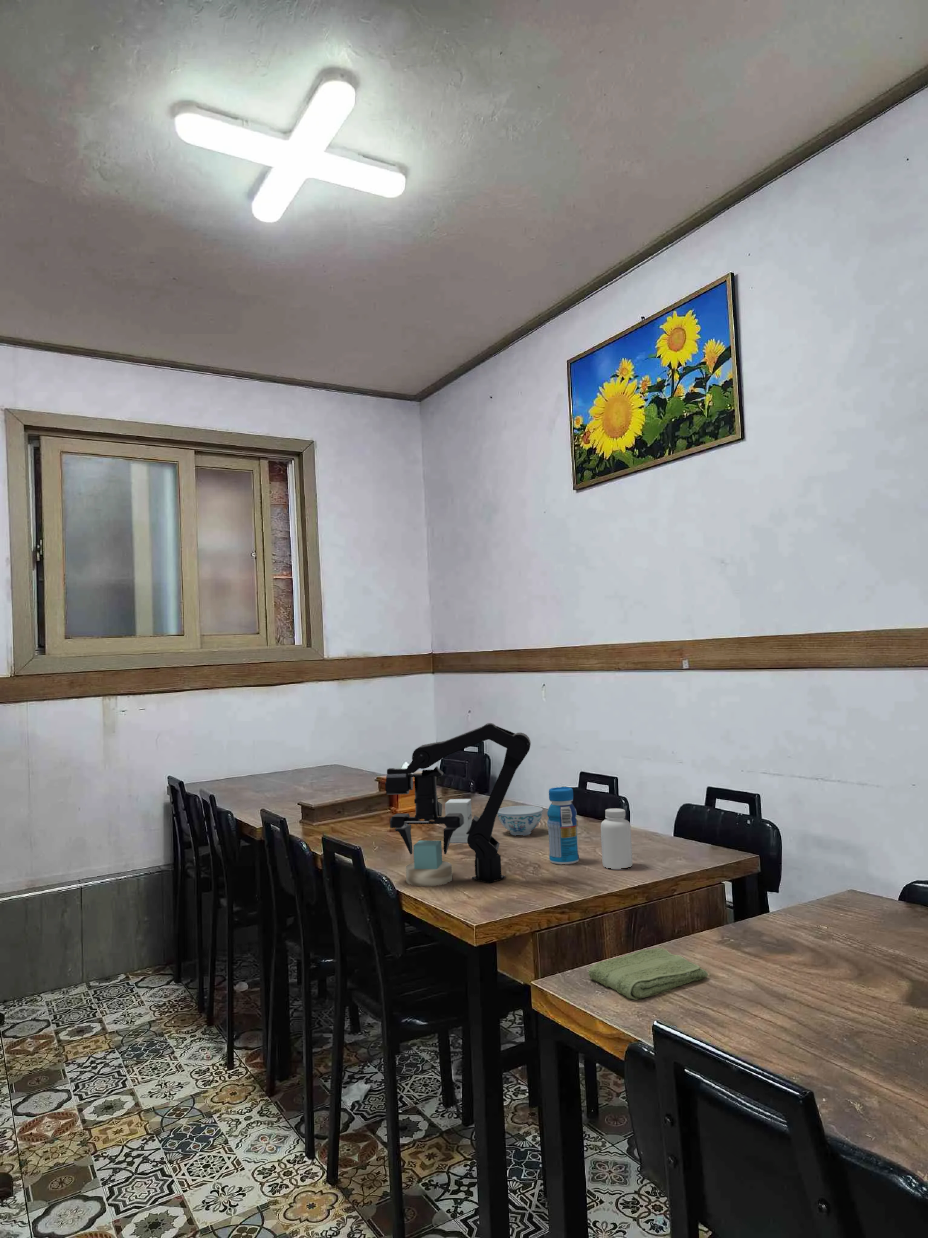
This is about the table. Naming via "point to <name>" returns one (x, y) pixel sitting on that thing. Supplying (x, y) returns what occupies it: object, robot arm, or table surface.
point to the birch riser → (429, 875)
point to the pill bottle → (616, 840)
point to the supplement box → (465, 809)
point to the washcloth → (646, 973)
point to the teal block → (427, 854)
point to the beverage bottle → (562, 827)
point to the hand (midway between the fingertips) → (428, 854)
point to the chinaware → (520, 818)
